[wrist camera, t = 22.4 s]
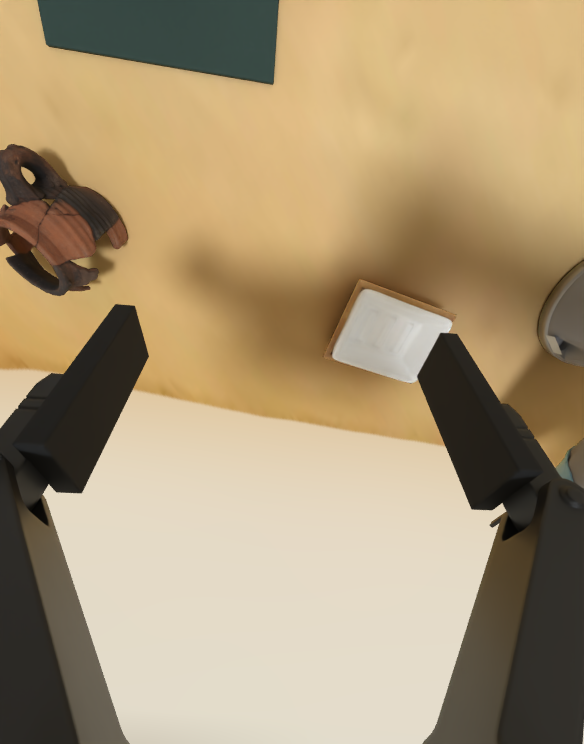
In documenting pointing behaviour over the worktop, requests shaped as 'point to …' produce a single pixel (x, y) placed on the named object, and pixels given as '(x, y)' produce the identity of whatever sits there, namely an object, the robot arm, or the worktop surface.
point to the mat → (170, 33)
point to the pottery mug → (52, 223)
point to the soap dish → (386, 332)
